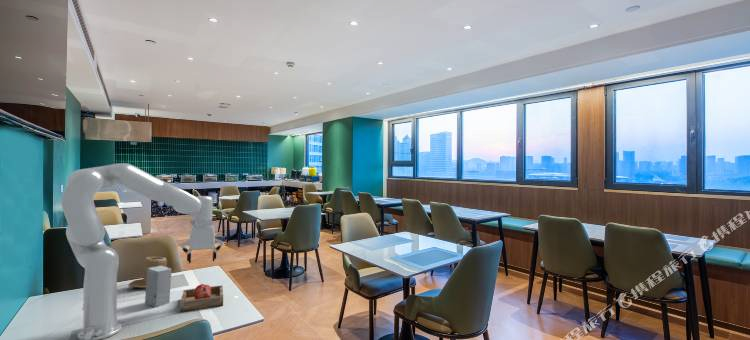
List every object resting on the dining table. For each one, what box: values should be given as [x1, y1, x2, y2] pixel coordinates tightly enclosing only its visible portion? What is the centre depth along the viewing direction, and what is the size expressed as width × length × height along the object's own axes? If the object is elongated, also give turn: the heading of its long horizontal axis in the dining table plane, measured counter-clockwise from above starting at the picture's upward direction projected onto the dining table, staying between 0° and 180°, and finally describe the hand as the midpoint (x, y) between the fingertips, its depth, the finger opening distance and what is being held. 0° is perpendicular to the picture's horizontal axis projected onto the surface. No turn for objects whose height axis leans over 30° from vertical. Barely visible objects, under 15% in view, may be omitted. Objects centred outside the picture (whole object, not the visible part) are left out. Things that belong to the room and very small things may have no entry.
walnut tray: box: [179, 285, 224, 313], centre depth 155 cm, size 16×16×4 cm
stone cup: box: [128, 256, 168, 289], centre depth 176 cm, size 15×12×15 cm
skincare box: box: [144, 266, 172, 308], centre depth 153 cm, size 8×7×16 cm
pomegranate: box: [193, 283, 212, 300], centre depth 154 cm, size 7×7×10 cm
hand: (201, 261), depth 154 cm, fingers open, 9 cm apart
